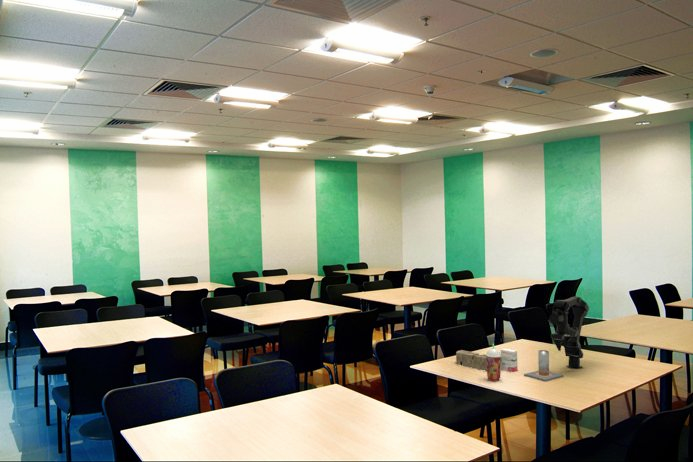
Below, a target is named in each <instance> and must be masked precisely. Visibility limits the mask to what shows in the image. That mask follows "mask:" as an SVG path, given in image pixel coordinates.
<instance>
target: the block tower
mask: <svg viewBox="0 0 693 462" xmlns="http://www.w3.org/2000/svg"><path fill="white" fill-rule="evenodd" d="M455 355H456V356H455V358H456V359H455V361H456V362H455V363H456V365H458V364H459V365H458V366H462V365H463V367H467V368H471V367H472V368H471V369H475V368H476V370H480V369H481V371H484V370H485V372H487V366H486V353H485V354H480V353H478V352H472V351H468V350H463V349H460V350H457V351H456V352H455ZM501 362H502V358H501Z"/></svg>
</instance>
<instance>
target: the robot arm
mask: <svg viewBox="0 0 693 462" xmlns="http://www.w3.org/2000/svg"><path fill="white" fill-rule="evenodd" d="M571 308H572V312H573V315H574V318H573V323H572V327H570V324H569V323H568V314H569V310H570V309H571ZM589 310H590V307H589V305H588V303H587V301H585V300H583V299H582V297H580V296H571V297H569V298H567V299H556V300H555V302H554V304H553V307H552V310H551V314H550V315H549V317H548V321H549V322H550V323H551V324H552V325H555V327H556V331H555V332H553V333H551V335H550V338H551V340H552V341H553V343H554V345H555V347H556V348H557V350H558V352H561V350H562V345H563V349H564V354H565V357H568V365H566V367H567V368H569V369H576V370H577V369H581V368H583V366H582V365H581V359H583V358H584V352H583V350H582V346H581V343H580V336H581V332H582V327H583V322H584V321H583V320H584V319H585V318H586V317H587V315H588V312H589Z"/></svg>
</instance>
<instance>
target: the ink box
mask: <svg viewBox="0 0 693 462" xmlns="http://www.w3.org/2000/svg"><path fill="white" fill-rule="evenodd" d="M500 354H501V358H502V362H501V371H502V370H503V371H506V372H507V371H508V372H510V373H511V372H512V373H514V372H517V371H518V367H519V366H518V350H514V349H509V348H502V349H500Z"/></svg>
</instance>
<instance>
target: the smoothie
mask: <svg viewBox="0 0 693 462" xmlns="http://www.w3.org/2000/svg"><path fill="white" fill-rule="evenodd" d="M485 355H486V366H487V371H486V376H487V380H488V381H490V382H498V381H500V379H501V371H502V369H501V351H499V350H498V349H497V348H495V343H492V348H489V349H488V350H487V351H486V353H485Z"/></svg>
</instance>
